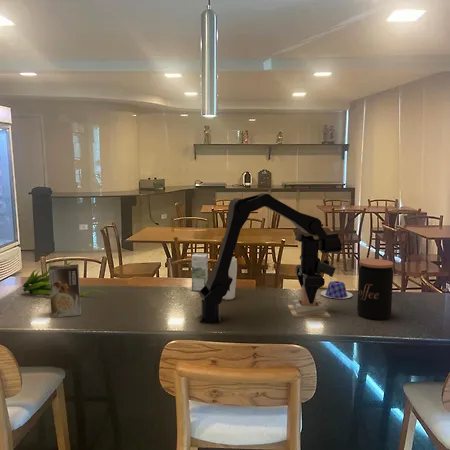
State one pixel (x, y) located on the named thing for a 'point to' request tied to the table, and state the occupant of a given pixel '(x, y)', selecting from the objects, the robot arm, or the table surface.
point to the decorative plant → (41, 283)
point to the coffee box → (64, 290)
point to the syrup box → (199, 271)
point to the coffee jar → (375, 289)
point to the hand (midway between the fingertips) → (308, 299)
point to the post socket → (308, 309)
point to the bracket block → (306, 299)
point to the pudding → (336, 290)
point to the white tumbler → (232, 274)
